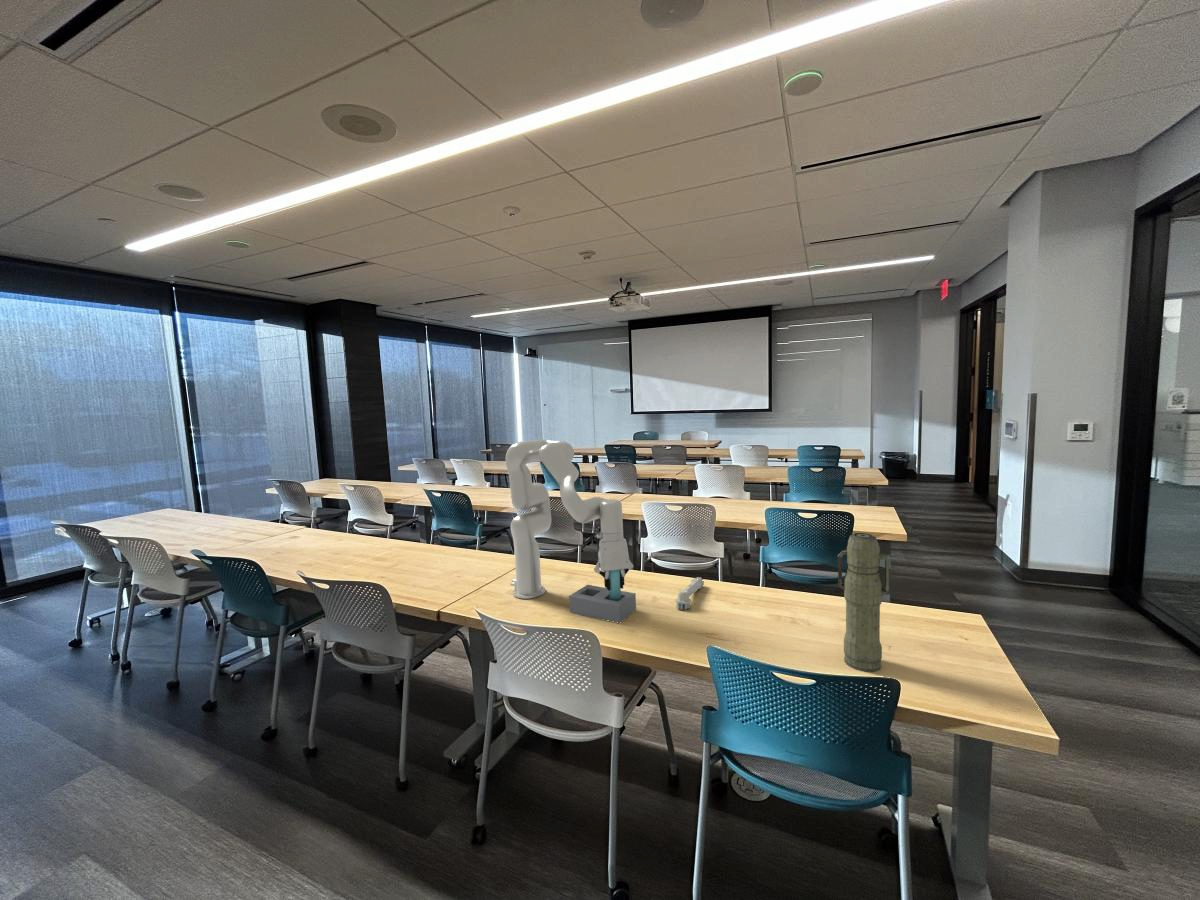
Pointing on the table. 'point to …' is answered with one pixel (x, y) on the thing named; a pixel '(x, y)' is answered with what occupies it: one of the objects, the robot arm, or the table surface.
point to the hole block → (601, 604)
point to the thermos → (863, 601)
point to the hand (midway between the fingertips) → (614, 587)
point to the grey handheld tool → (688, 593)
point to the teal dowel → (614, 585)
